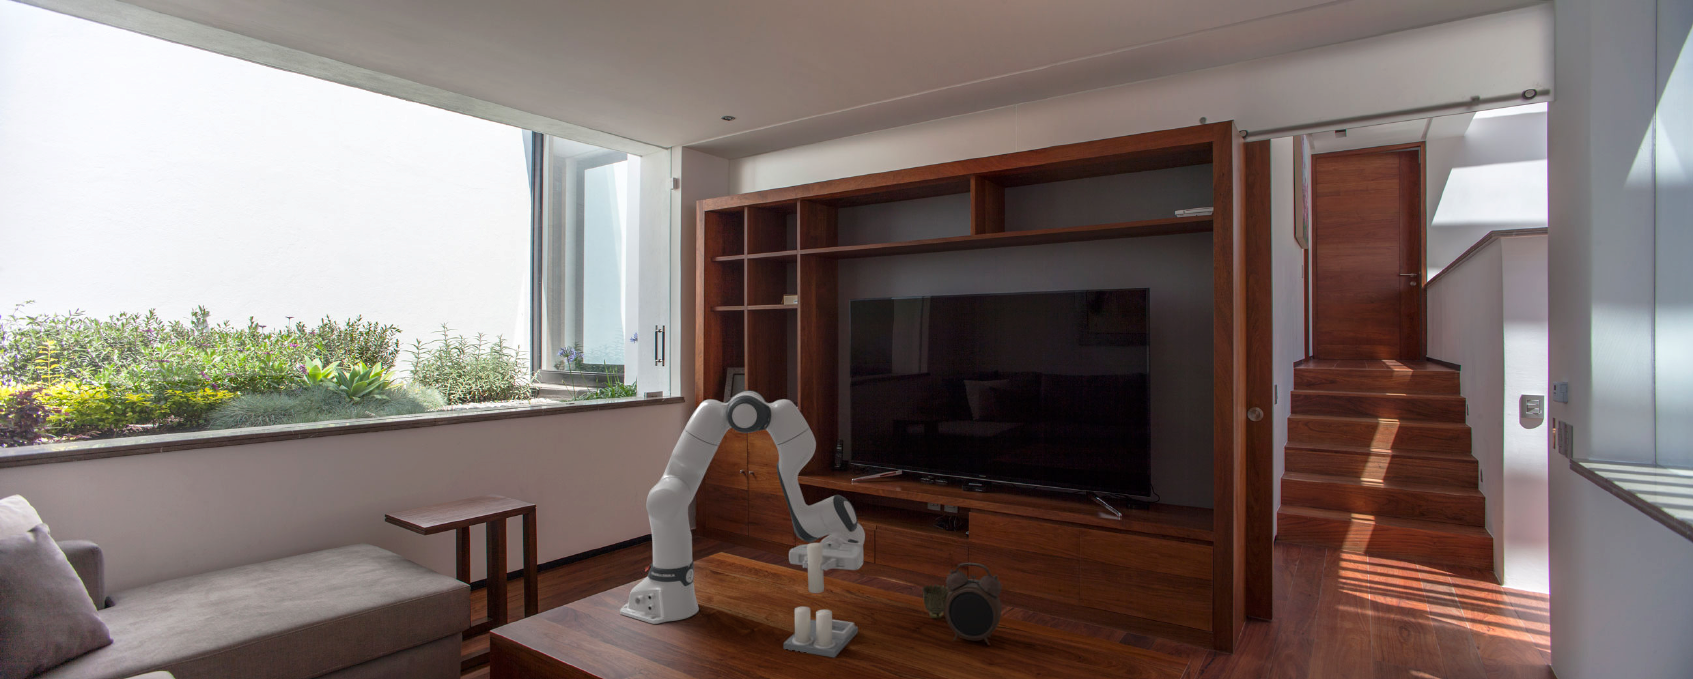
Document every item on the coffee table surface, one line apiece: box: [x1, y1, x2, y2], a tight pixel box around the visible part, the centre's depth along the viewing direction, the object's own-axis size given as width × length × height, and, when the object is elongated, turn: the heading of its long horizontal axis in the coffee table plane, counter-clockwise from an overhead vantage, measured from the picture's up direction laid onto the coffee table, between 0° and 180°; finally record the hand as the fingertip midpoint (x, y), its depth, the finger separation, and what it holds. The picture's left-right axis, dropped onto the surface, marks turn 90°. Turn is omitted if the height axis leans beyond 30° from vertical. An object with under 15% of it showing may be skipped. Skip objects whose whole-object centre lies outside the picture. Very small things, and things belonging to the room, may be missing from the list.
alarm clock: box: [943, 562, 1003, 645], centre depth 187 cm, size 15×7×20 cm, turn 71°
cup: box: [922, 584, 950, 620], centre depth 203 cm, size 8×7×8 cm
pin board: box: [783, 606, 859, 658], centre depth 189 cm, size 14×16×10 cm
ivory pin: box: [806, 542, 825, 594], centre depth 192 cm, size 4×4×12 cm
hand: (814, 566), depth 191 cm, fingers closed on ivory pin, 4 cm apart
